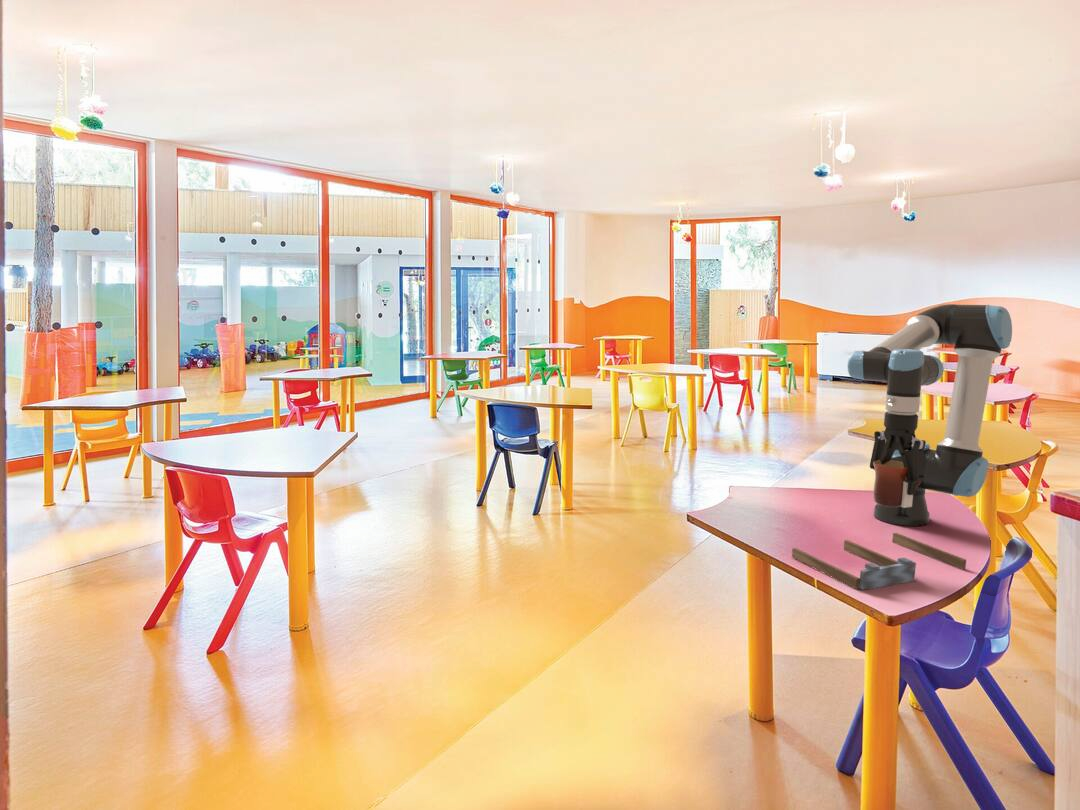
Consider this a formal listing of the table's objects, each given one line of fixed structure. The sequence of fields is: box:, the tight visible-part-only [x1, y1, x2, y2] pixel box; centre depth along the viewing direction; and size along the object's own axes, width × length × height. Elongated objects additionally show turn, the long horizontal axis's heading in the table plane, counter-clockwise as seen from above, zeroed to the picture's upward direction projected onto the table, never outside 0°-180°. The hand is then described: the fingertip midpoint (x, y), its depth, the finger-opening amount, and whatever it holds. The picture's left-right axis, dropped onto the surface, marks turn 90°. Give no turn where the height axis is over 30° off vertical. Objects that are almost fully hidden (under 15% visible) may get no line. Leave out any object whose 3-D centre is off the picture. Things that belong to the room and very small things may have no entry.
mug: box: [873, 460, 921, 507], centre depth 194 cm, size 12×9×10 cm
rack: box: [791, 532, 967, 591], centre depth 196 cm, size 35×24×6 cm
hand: (893, 502), depth 196 cm, fingers closed on mug, 7 cm apart
